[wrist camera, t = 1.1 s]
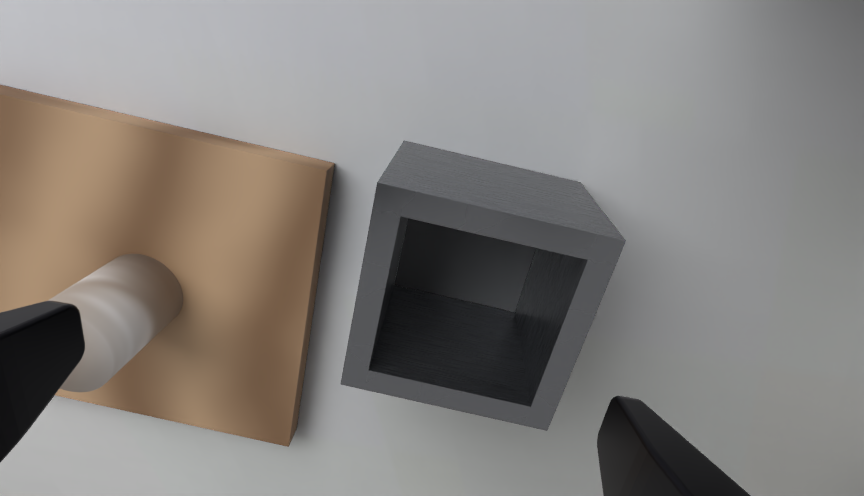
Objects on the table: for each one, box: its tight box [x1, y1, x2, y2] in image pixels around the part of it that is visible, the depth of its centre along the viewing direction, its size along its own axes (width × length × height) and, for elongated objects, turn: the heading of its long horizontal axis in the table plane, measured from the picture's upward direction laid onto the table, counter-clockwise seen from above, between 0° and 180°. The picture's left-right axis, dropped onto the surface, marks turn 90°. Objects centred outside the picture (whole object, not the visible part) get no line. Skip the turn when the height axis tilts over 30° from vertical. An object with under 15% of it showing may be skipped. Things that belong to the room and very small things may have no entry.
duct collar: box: [341, 141, 626, 430], centre depth 18 cm, size 7×7×6 cm
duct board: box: [0, 85, 335, 447], centre depth 19 cm, size 14×14×6 cm
